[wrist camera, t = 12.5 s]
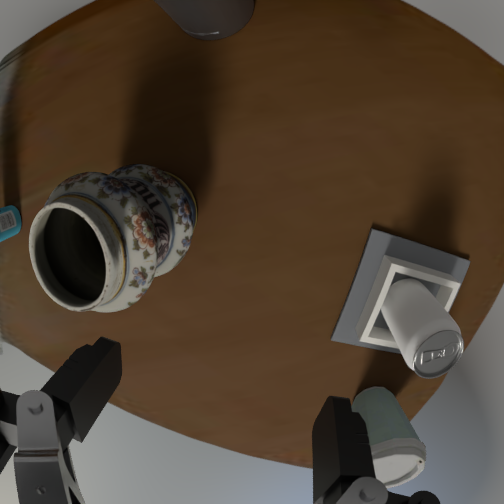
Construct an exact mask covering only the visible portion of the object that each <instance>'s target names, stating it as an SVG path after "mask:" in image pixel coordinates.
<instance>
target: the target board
mask: <svg viewBox="0 0 504 504" xmlns="http://www.w3.org/2000/svg"><path fill="white" fill-rule="evenodd" d="M469 264H470V261H469V260H467V259H464V258H461V257H459V256H456V255H453V254H450V253H447V252H444V251H441V250H438V249H435V248H432V247H429V246H426V245H423V244H420V243H417V242H414V241H411V240H408V239H405V238H402V237H399V236H395V235H392V234H389V233H386V232H383V231H379V230H376V229H373V228H371V230H370V233H369V236H368V239H367V242H366V245H365V248H364V251H363V254H362V257H361V260H360V262H359V265H358V268H357V271H356V274H355V276H354V279H353V282H352V285H351V287H350V290H349V293H348V295H347V298H346V301H345V303H344V306H343V308H342V311H341V313H340V316H339V318H338V321H337V323H336V326H335V328H334V331H333V333H332V335H331V340H333V341H337V342H342V343H347V344H352V345H357V346H362V347H367V348H372V349H377V350H383V351H388V352H394V353H399V354H401V351H400V349H399V347H398V345H397V343H396V341H395V339H394V337H393V335H392V333H391V331H390V329H389V327H388V325H387V323H386V321H385V319H384V317H383V314H382V311H381V307H382V304H383V302H384V299H385V297H386V295H387V292H388V290H389V287H390V286H391V285H393V284H394V283H396V282H397V281H399V280H402V279H415V280H418V281H419V282H421V283H422V284H423V285H424V286H425V287H426V288H427V289H428V290H429V291H430V293H431V294H432V295H433V296H434V297H435V298H436V299H437V300H438V302H439V303H440V304H441V305H442V306H443V307H444V309H445V310H446V311H447V312H448V313H449V311H450V309H451V307H452V304H453V302H454V300H455V298H456V296H457V293H458V291H459V289H460V286H461V284H462V282H463V279H464V277H465V274H466V272H467V269H468V267H469Z"/></svg>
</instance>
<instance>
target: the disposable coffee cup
mask: <svg viewBox="0 0 504 504" xmlns="http://www.w3.org/2000/svg"><path fill="white" fill-rule="evenodd" d="M351 408H352V412H359V413H360V415H361V416H362V418H363V419H364V421H365V422H366V427H367V432H368V435H367V436H368V437H369V442H370V443H369V445H370V447H371V453H372V458H373V464H374V469H375V475H376V479H378V480H380V481H381V482H382V483H383V484H384V485H385V486H386V488H391V487H395V486H399V485H401V484H404V483H406V482H408V481H410V480H412V479H413V478H415V477H416V476H417V475H418V474H419V473H420V472H421V471H422V470H423V469H424V468H425V461H426V447H425V445H424V443H423V442H421V441H420V439H419V437H418V436H417V434H416V432H415V430H414V429H413V427H412V425H411V424H410V422H409V420H408V418H407V417H406V415H405V413H404V412H403V410H402V408H401V406H400V405H399V403H398V401H397V400H396V398H395V396H394V395H393V393H391V392H390V391H389V390H387V389H386V388H384V387H376V386H374V387H371V388H368V389H365V390H363V391H362V392H361V393H359V394H358V395H357V396H356V397H355V400H354V402H353V404H352V406H351Z"/></svg>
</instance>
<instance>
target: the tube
mask: <svg viewBox="0 0 504 504" xmlns="http://www.w3.org/2000/svg"><path fill="white" fill-rule="evenodd" d="M21 224H22V222H21V216H20V213H19V211H18V210H17V208H16V207H14V206H12V205H10V206H6V207H3V208H0V242H1V241H3V240H5V239H7V238H9V237H11V236H14V235H16V234H17V233H19V231H20V229H21Z"/></svg>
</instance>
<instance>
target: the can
mask: <svg viewBox="0 0 504 504" xmlns="http://www.w3.org/2000/svg"><path fill="white" fill-rule="evenodd" d="M381 311H382V314H383V317H384V319H385V321H386V323H387V325H388V327H389V329H390V331H391V333H392V335H393V337H394V339H395V341H396V343H397V345H398V347H399V349H400V351H401V354H402V356H403V358H404V360H405V362H406V363H407V365H408V366H409V367H410V368H411V369H412V370H414V371H415V373H416V374H417V375H418V376H420V377H422V378H427V379H430V378H436V377H439V376H441V375H443V374H445V373H447V372H448V371H449V370H450V369H452V368H453V367H454V366H455V365H456V364H457V362H458V361H459V359H460V357H461V355H462V353H463V349H464V341H463V338H462V336H461V331H460V328H459V326H458V325H457V323H456V322H455V321H454V319H453V318H452V317H451V316H450V314H449V313H448V312H447V311H446V310H445V309H444V307H443V306H442V305H441V304H440V303H439V302H438V300H437V299H436V298H435V297H434V296H433V295H432V294H431V293H430V291H429V290H428V289H427V288H426V287H425V286H424V285H423V284H422V283H421V282H419V281H418V280H415V279H402V280H399V281H397V282H396V283H394V284H393V285H391V286H390V287H389V290H388V292H387V295H386V297H385V299H384V302H383V304H382V307H381Z"/></svg>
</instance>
